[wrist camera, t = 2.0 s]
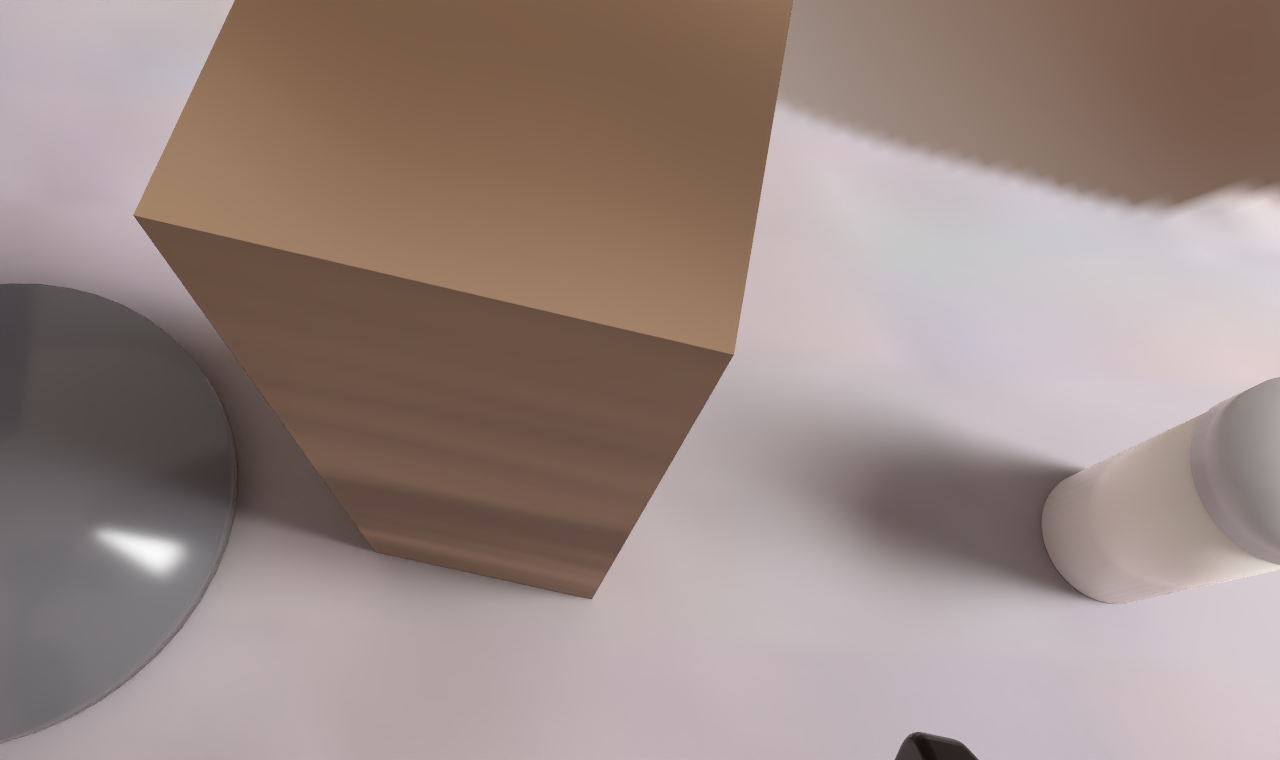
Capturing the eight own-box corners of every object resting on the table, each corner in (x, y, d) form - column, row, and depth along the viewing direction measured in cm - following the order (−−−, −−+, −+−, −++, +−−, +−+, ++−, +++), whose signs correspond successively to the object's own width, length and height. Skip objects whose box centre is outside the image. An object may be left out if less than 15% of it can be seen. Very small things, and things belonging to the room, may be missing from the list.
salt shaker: (1144, 633, 20) (1384, 593, 15) (1019, 557, 20) (1209, 490, 15) (1185, 515, 21) (1422, 437, 16) (1067, 444, 22) (1258, 343, 16)
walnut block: (591, 598, 19) (733, 354, 7) (374, 552, 19) (132, 214, 7) (633, 398, 21) (805, -76, 9) (435, 352, 20) (329, -199, 8)
